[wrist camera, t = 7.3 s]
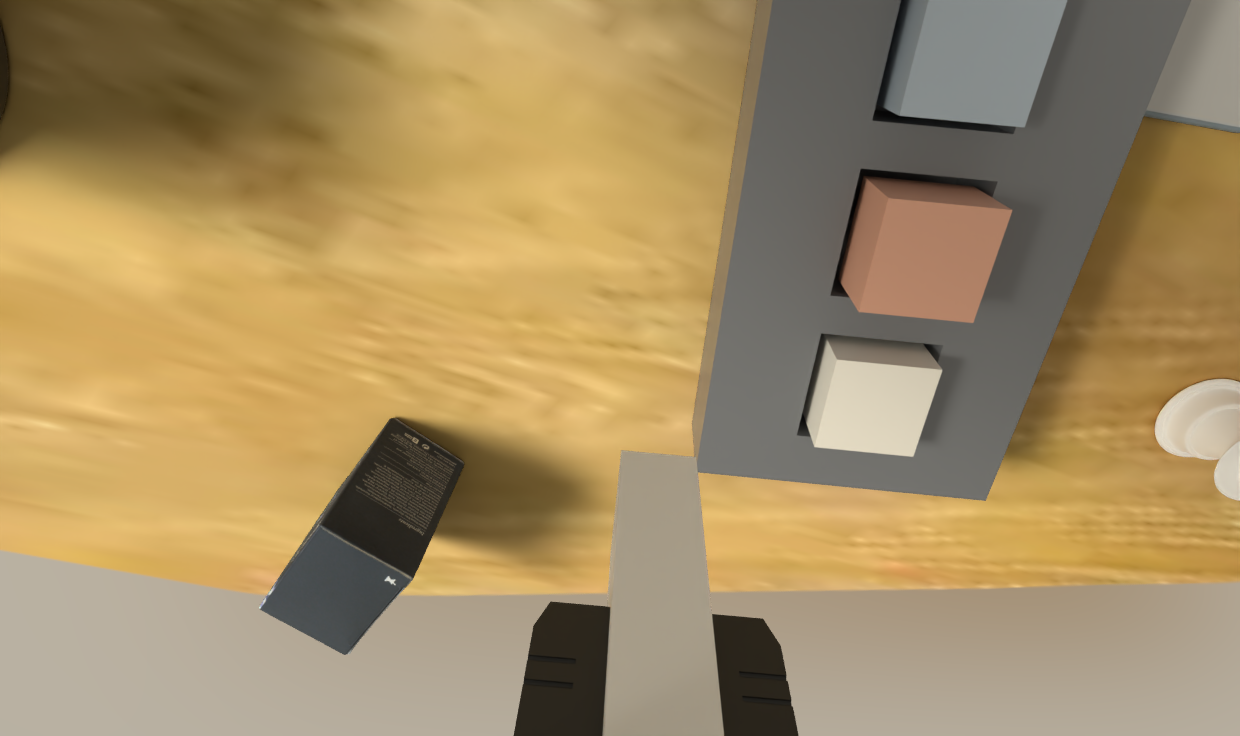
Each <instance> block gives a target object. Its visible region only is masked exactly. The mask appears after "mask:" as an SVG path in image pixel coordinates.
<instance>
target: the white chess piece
mask: <svg viewBox="0 0 1240 736" xmlns="http://www.w3.org/2000/svg"><path fill="white" fill-rule="evenodd" d="M1155 436H1156V439H1157V441H1158V443H1159V445H1160V446H1161V447H1162V448H1163V449H1164V450H1166V451H1167V452H1169V453H1171V454H1173V455H1177V456H1181V457H1197V458H1200V459H1205V460H1216V459H1219V461H1218V463H1217V465H1216V468H1215V472H1214V481H1215V485H1216V487H1217V488H1218V490H1219V491H1220V492H1221V493H1222V494H1223V495H1225V496H1227V497H1229V498H1231V499H1234V500H1239V501H1240V382H1238V381H1235V380H1230V379H1212V380H1206V381H1202V382H1199V383H1196V384H1194V385H1191V386H1189V387H1187V388H1185V389H1184V390H1182V391H1180V392H1179V393H1177V394H1176V395H1175V396H1174V397H1172V398H1171V399H1170V400H1169V401H1168V402H1167V403H1166V404H1165V406H1164V407H1163V408H1162V410H1161V411H1160V413H1159V415H1158V417H1157V420H1156V423H1155Z"/></svg>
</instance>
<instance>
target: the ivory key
mask: <svg viewBox="0 0 1240 736" xmlns="http://www.w3.org/2000/svg"><path fill="white" fill-rule="evenodd" d="M941 373H942V368H941V367H940V366H939V364H938V363H937V362H936V360H935V359H934V358H933V356H932V355H931V354H930V352H929V351H928V350H927V348H926V347H925V346H924V344H923V343H914V342H904V341H894V340H883V339H873V338H863V337H852V336H842V335H832V334H822V333H821V337H820V341H819V345H818V349H817V353H816V357H815V362H814V366H813V370H812V374H811V378H810V382H809V387H808V391H807V395H806V399H805V403H804V408H803V415H804V418H805V421H806V424H807V427H808V430H809V433H810V435H811V438H812V441H813V444H814V447H818V448H828V449H838V450H849V451H859V452H869V453H879V454H889V455H899V456H910V457H913V456H914V453H915V450H916V447H917V444H918V441H919V438H920V435H921V432H922V429H923V426H924V423H925V420H926V418H927V415H928V412H929V409H930V406H931V403H932V400H933V397H934V394H935V391H936V388H937V385H938V382H939V379H940V376H941Z"/></svg>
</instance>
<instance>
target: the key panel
mask: <svg viewBox="0 0 1240 736" xmlns="http://www.w3.org/2000/svg"><path fill="white" fill-rule="evenodd" d="M900 2H901V0H757V6H756V13H755V19H754V26H753V32H752V39H751V45H750V51H749V58H748V64H747V71H746V77H745V84H744V90H743V97H742V103H741V110H740V116H739V123H738V129H737V136H736V142H735V149H734V155H733V162H732V168H731V175H730V181H729V187H728V194H727V200H726V207H725V213H724V220H723V226H722V233H721V239H720V246H719V252H718V259H717V265H716V272H715V278H714V285H713V291H712V298H711V304H710V310H709V317H708V323H707V330H706V336H705V343H704V349H703V356H702V362H701V369H700V375H699V382H698V388H697V395H696V401H695V408H694V414H693V421H692V430H693V444H694V457H696V460H697V470H698V472H700V473H710V474H721V475H731V476H741V477H751V478H761V479H771V480H781V481H791V482H801V483H812V484H822V485H832V486H842V487H852V488H862V489H872V490H882V491H892V492H902V493H913V494H923V495H933V496H943V497H953V498H963V499H973V500H983V501H986V499H987V496H988V494H989V491H990V489H991V486H992V484H993V482H994V479H995V477H996V474H997V472H998V469H999V467H1000V464H1001V462H1002V460H1003V457H1004V455H1005V452H1006V450H1007V447H1008V445H1009V443H1010V440H1011V438H1012V435H1013V433H1014V430H1015V428H1016V426H1017V423H1018V421H1019V418H1020V416H1021V413H1022V411H1023V409H1024V406H1025V404H1026V401H1027V399H1028V396H1029V394H1030V392H1031V389H1032V387H1033V384H1034V382H1035V379H1036V377H1037V375H1038V372H1039V370H1040V367H1041V365H1042V362H1043V360H1044V357H1045V355H1046V353H1047V350H1048V348H1049V345H1050V343H1051V340H1052V338H1053V336H1054V333H1055V331H1056V328H1057V326H1058V323H1059V321H1060V319H1061V316H1062V314H1063V311H1064V309H1065V306H1066V304H1067V302H1068V299H1069V297H1070V294H1071V292H1072V289H1073V287H1074V285H1075V282H1076V280H1077V277H1078V275H1079V272H1080V270H1081V268H1082V265H1083V263H1084V260H1085V258H1086V255H1087V253H1088V251H1089V248H1090V246H1091V243H1092V241H1093V238H1094V236H1095V233H1096V231H1097V229H1098V226H1099V224H1100V221H1101V219H1102V216H1103V214H1104V212H1105V209H1106V207H1107V204H1108V202H1109V199H1110V197H1111V195H1112V192H1113V190H1114V187H1115V185H1116V182H1117V180H1118V178H1119V175H1120V173H1121V170H1122V168H1123V165H1124V163H1125V161H1126V158H1127V156H1128V153H1129V151H1130V148H1131V146H1132V144H1133V141H1134V139H1135V136H1136V134H1137V131H1138V129H1139V126H1140V124H1141V122H1142V119H1143V117H1144V114H1145V112H1146V109H1147V107H1148V105H1149V102H1150V100H1151V97H1152V95H1153V92H1154V90H1155V88H1156V85H1157V83H1158V80H1159V78H1160V75H1161V73H1162V71H1163V68H1164V66H1165V63H1166V61H1167V58H1168V56H1169V54H1170V51H1171V49H1172V46H1173V44H1174V41H1175V39H1176V37H1177V34H1178V32H1179V29H1180V27H1181V24H1182V22H1183V19H1184V17H1185V15H1186V12H1187V10H1188V7H1189V5H1190V2H1191V0H1067V3H1066V6H1065V9H1064V12H1063V15H1062V18H1061V21H1060V24H1059V27H1058V30H1057V33H1056V36H1055V39H1054V42H1053V45H1052V48H1051V51H1050V54H1049V56H1048V59H1047V62H1046V65H1045V68H1044V71H1043V74H1042V77H1041V80H1040V83H1039V86H1038V89H1037V92H1036V95H1035V98H1034V101H1033V104H1032V107H1031V110H1030V113H1029V116H1028V119H1027V122H1026V125H1025V128H1024V127H1014V126H1003V125H993V124H982V123H971V122H961V121H950V120H940V119H929V118H919V117H908V116H899V115H897V114H895V113H893V112H891V111H889V110H887V109H885V108H883V107H881V106H879V105H877V104H876V103H877V98H878V94H879V90H880V86H881V82H882V78H883V73H884V69H885V65H886V61H887V57H888V52H889V48H890V44H891V40H892V36H893V32H894V27H895V23H896V19H897V15H898V11H899V7H900ZM863 176H870V177H880V178H891V179H901V180H912V181H922V182H933V183H943V184H954V185H964V186H974V187H976V188H977V189H979V190H980V191H982V192H984V193H985V194H987V195H989V196H990V197H992V198H994V199H995V200H997V201H998V202H1000V203H1002V204H1003V205H1005V206H1007V207H1008V208H1010V209H1012V213H1011V216H1010V219H1009V222H1008V225H1007V228H1006V230H1005V233H1004V236H1003V239H1002V242H1001V245H1000V248H999V250H998V253H997V256H996V259H995V262H994V265H993V268H992V271H991V273H990V276H989V279H988V282H987V285H986V288H985V291H984V294H983V296H982V299H981V302H980V305H979V308H978V311H977V314H976V316H975V319H974V322H973V323H968V322H957V321H947V320H937V319H926V318H916V317H906V316H895V315H885V314H875V313H864V312H858V310H857V308H856V307H855V305H854V304H853V302H852V300H851V299H850V297H849V296H848V294H847V292H846V291H845V289H844V287H843V286H842V284H841V283H840V281H839V275H840V271H841V267H842V263H843V259H844V255H845V250H846V246H847V242H848V238H849V234H850V230H851V226H852V222H853V217H854V213H855V209H856V205H857V201H858V197H859V193H860V189H861V184H862V180H863ZM821 333H822V334H832V335H842V336H852V337H863V338H873V339H883V340H894V341H904V342H914V343H923V344H924V346H925V347H926V348H927V350H928V351H929V352H930V354H931V355H932V356H933V358H934V359H935V360H936V362H937V363H938V364H939V366H940V367H941V368H942V373H941V376H940V379H939V382H938V385H937V388H936V391H935V394H934V397H933V400H932V403H931V406H930V409H929V412H928V415H927V418H926V420H925V423H924V426H923V429H922V432H921V435H920V438H919V441H918V444H917V447H916V450H915V453H914V456H913V457H910V456H899V455H889V454H879V453H869V452H859V451H849V450H838V449H828V448H818V447H814V444H813V441H812V438H811V435H810V433H809V430H808V427H807V424H806V421H805V418H804V415H803V408H804V403H805V399H806V395H807V391H808V387H809V382H810V378H811V374H812V370H813V366H814V362H815V357H816V353H817V349H818V345H819V341H820V337H821Z"/></svg>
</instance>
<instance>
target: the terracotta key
mask: <svg viewBox="0 0 1240 736" xmlns="http://www.w3.org/2000/svg"><path fill="white" fill-rule="evenodd" d="M1011 213H1012V209H1010V208H1008V207H1007V206H1005V205H1003V204H1002V203H1000V202H998V201H997V200H995V199H994V198H992V197H990V196H989V195H987V194H985V193H984V192H982V191H980V190H979V189H977V188H976V187H974V186H964V185H954V184H943V183H933V182H922V181H912V180H901V179H891V178H880V177H870V176H863V180H862V184H861V189H860V193H859V197H858V201H857V205H856V209H855V213H854V217H853V222H852V226H851V230H850V234H849V238H848V242H847V246H846V250H845V255H844V259H843V263H842V267H841V271H840V275H839V281H840V283H841V284H842V286H843V287H844V289H845V291H846V292H847V294H848V296H849V297H850V299H851V300H852V302H853V304H854V305H855V307H856V308H857V310H858V312H864V313H875V314H885V315H895V316H906V317H916V318H926V319H937V320H947V321H957V322H968V323H973V322H974V319H975V316H976V314H977V311H978V308H979V305H980V302H981V299H982V296H983V294H984V291H985V288H986V285H987V282H988V279H989V276H990V273H991V271H992V268H993V265H994V262H995V259H996V256H997V253H998V250H999V248H1000V245H1001V242H1002V239H1003V236H1004V233H1005V230H1006V228H1007V225H1008V222H1009V219H1010V216H1011Z"/></svg>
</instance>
